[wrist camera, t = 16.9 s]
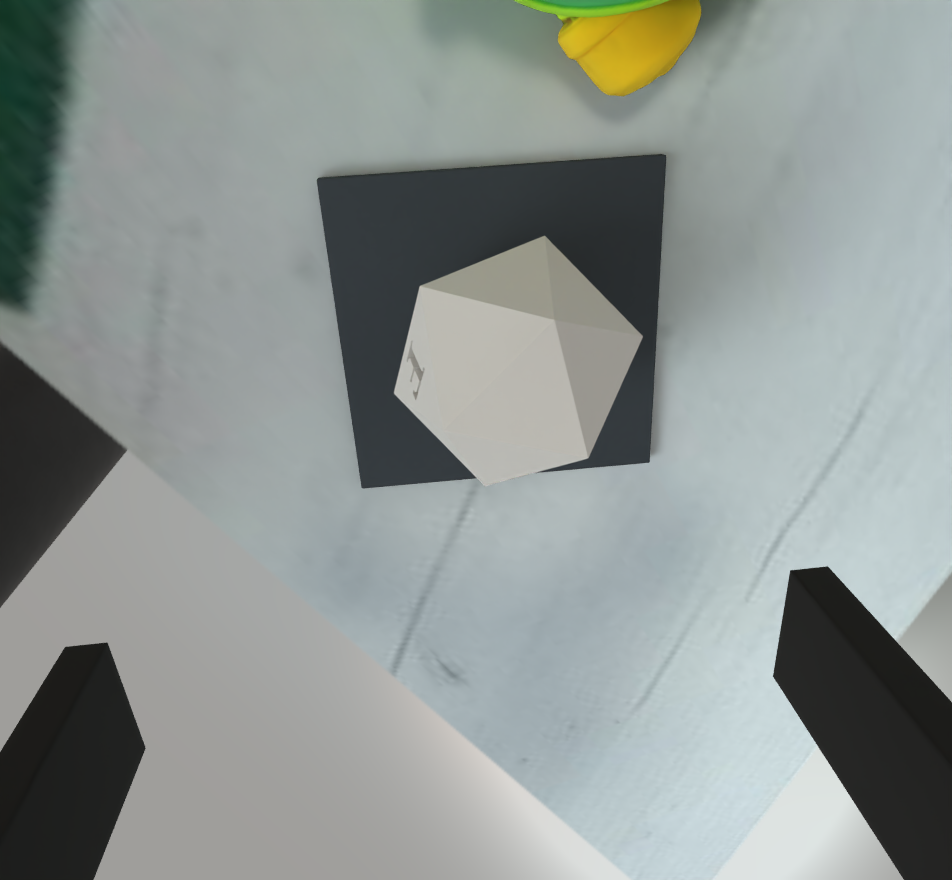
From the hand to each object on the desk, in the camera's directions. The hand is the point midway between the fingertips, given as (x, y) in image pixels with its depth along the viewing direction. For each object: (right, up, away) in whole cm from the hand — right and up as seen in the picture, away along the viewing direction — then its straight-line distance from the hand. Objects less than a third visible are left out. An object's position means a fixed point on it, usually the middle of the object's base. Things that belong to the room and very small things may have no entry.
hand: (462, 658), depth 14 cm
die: (+1, +9, +18) cm, 20 cm away
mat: (+1, +9, +18) cm, 20 cm away
